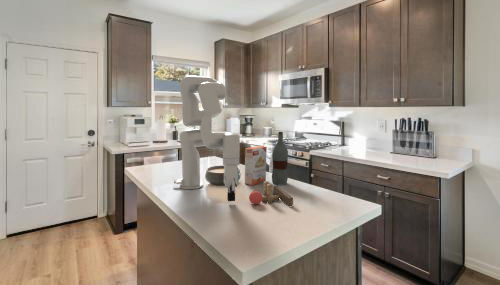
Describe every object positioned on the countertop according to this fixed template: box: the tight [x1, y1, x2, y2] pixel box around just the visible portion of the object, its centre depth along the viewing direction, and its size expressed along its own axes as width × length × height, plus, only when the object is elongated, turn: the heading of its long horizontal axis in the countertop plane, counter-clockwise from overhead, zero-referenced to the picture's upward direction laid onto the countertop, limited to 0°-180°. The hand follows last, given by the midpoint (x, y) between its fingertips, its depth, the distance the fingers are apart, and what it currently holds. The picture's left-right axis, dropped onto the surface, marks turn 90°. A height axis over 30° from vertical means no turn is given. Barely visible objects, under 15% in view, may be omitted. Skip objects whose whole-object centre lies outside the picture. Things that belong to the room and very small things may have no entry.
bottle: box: [271, 131, 289, 186], centre depth 163 cm, size 9×9×30 cm
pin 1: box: [263, 180, 270, 196], centre depth 136 cm, size 2×2×8 cm
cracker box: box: [244, 145, 268, 186], centre depth 165 cm, size 14×6×21 cm, turn 143°
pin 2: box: [266, 183, 273, 204], centre depth 131 cm, size 2×2×8 cm
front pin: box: [261, 194, 280, 203], centre depth 134 cm, size 2×2×8 cm
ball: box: [248, 190, 263, 205], centre depth 129 cm, size 6×6×6 cm
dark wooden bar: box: [273, 185, 294, 207], centre depth 135 cm, size 2×20×4 cm, turn 14°
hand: (231, 200), depth 129 cm, fingers closed
